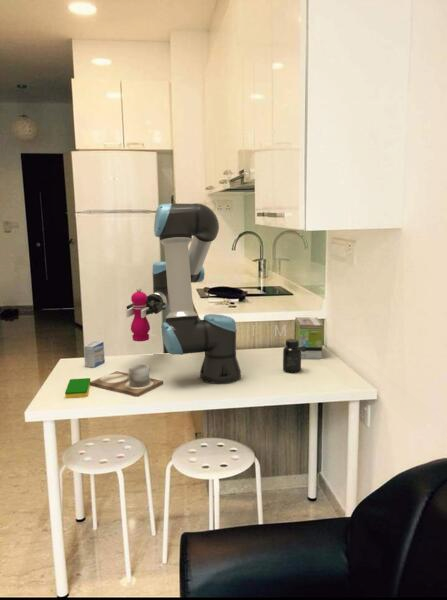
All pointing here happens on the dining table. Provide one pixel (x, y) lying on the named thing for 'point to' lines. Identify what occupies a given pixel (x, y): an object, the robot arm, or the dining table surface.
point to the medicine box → (94, 354)
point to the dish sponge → (77, 388)
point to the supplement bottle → (292, 356)
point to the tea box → (309, 337)
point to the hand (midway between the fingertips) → (134, 314)
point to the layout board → (128, 381)
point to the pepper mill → (139, 317)
